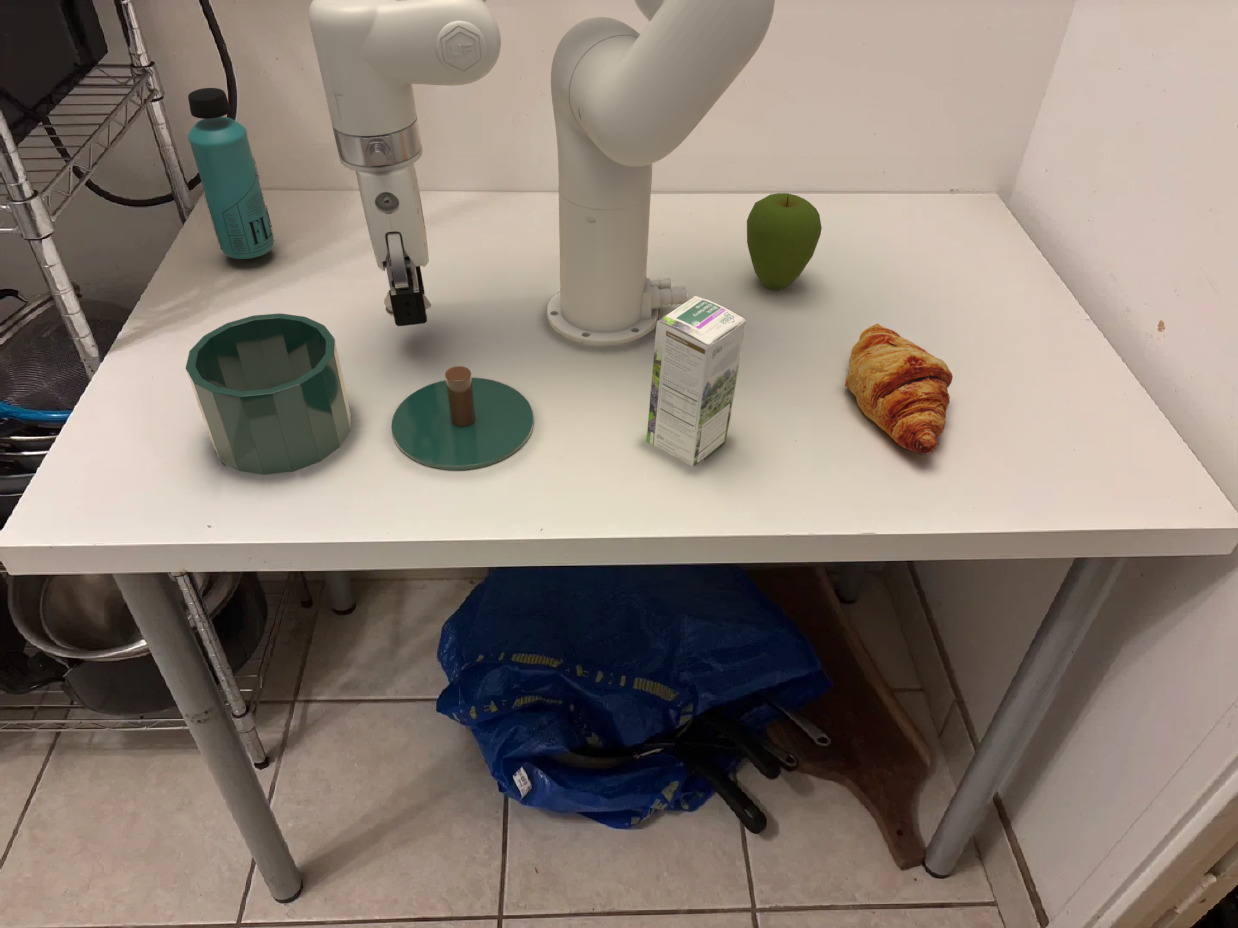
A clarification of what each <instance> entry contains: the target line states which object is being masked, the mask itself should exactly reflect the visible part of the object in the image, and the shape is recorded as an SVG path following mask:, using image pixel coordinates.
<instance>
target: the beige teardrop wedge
mask: <svg viewBox="0 0 1238 928" xmlns="http://www.w3.org/2000/svg"><path fill="white" fill-rule="evenodd" d="M423 298H424V304H425V310H426V311H427V310H429V309H430V308H431V307H432V303H431V302H430V300H429V299H428V298H427V296H426V295H425V294H423ZM383 304H384V306H385V311H386V313H387V314H388V315H389V316H391V317H394V315H393V310H392V305H391V300H390V295H389V291H388V292H387V294H386V296H385V298H384V299H383Z"/></svg>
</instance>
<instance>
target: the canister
mask: <svg viewBox="0 0 1238 928" xmlns="http://www.w3.org/2000/svg"><path fill="white" fill-rule="evenodd" d="M341 366H342V365H341V361H340V357H339V352H338V348H337V343H336V339H335V337H334V336H333V335H332V333H331V332H330V331H329V329H328V328H327V327H326V325H324V324H322V323H320V322H318V321H315V320H314V319H311V318H309V317H307V316H304V315H303V316H302V315H295V314H287V313H282V312H281V313H268V314H256V315H250V316H247V317H243V318H240V319H236V320H233V321H229V322H227V323H224V324H222V325H221V326H219V327H217V328H215V329H213V330H212V331H210V332H208V333H206V334H204V335H203V336H202V337H201V338H200V339H199V340H198V341H197V342H196V343H195V345H193V346H192V348H190V350H189V352H188V355H187V360H186V363H185V370H186V373H187V377H188V379H189V382H190V385H191V388H192V391H193V392H194V397H195V400H196V402H197V405H198V408H199V412H200V413H201V417H202V419H203V422H204V425H205V428H206V432H207V434H208V436H209V439H210V442H211V445H212V447H213V449H214V451H215V453H216V456H217V458H218V459H219V461H220V462H221V463H222V464H223V465H224V466H225V467H226V466H227V465H228V466H230V467H232V468H233V469H235V470H237V471H240V472H244V473H250V474H251V473H252V474H257V475H263V476H265V475H274V474H284V473H293V472H296V471H298V470H301V469H304V468H307V467H309V466H313V465H315V464H318V463H319V462H321V461H323V460H324V459H326V458H327V457H329V456H330V455H331V454H333V453H334V452H335V451H336V450H338V449H340V448H341V446H342V445H343V443H344V441H345V440H346V439H347V437H348V435H349V434H350V432H351V429H352V427H351V424H352V423H351V421H352V420H351V419H352V413H351V409H350V404H349V400H348V395H347V391H346V386H345V381H344V375H343V372H342V371H343V370H342V367H341Z"/></svg>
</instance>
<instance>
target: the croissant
mask: <svg viewBox="0 0 1238 928" xmlns="http://www.w3.org/2000/svg"><path fill="white" fill-rule="evenodd" d="M858 339H859V340H858V341H857V342H856V343H855V344H854V345H853V346H852V349H851V352H850V356H849V361H848V367H849V370H848V374H847V376H846V377H845V378H846V379H845V382H844V386H845V387H846V388H847V389H848V390H849V391H850V392H851V394H853V396H854V397H856V403H857V406H858V408H859V409H860V411H862V413H863V415H864V416H866V417H867V418H868V419H869V420H871V421H872V422H873V423H875V424H876V425H877V426H878V427H879V428H880V429H881V430H883V431H884V432H885V433H886V434H887V435H888V436H889V437H890V438H891V439H892V440H893V441H894V442H895V443H896V444H897V445H898V446H900V447H902V448H904V449H906V450H909V451H912V452H914V453H918V454H919V455H927V454H931V453H933V452H934V451H936V448H937V446H938V445H939V444H940V443H939V441H938V438H939V437H940V436H941V435H942V434H943V433H944V430H945V427H946V423H947V421H946V417H947V415H946V413H947V411H948V408H949V404H950V399H951V396H950V394H949V388H950V386H951V384H952V383H953V372H952V371H951V370H950V369H949V367H948V364H947V363H946V362H945V361H944V360H942V359H941V358H939V357H937V356H935V355H933V354H931V353H929V352H928V351H927V350H926V349H924V348H922V347H921V346H919V345H917V344H915V343H914V342H912V341H910V340H908V339H906V338H905V337H902V336H901V334H899V333H897V332H896V331H895V330H893V329H890V328H887V327H883V326H882V325H880V324H879V323H875V324H873V325H871V326H869V327H868V328H866V329H864V330H863V331H862V332H861V333H860V335H859V338H858Z"/></svg>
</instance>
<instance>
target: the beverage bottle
mask: <svg viewBox="0 0 1238 928" xmlns="http://www.w3.org/2000/svg"><path fill="white" fill-rule="evenodd" d="M187 100H188V103H189V111H190V114H191V116H192V117H193V118H196V119H200V120H199V121H197V122H196V123H195V124H194V125H193V127H192V128H191V129H190V130H189V132H188V134H187V139H188V142H189V144H190V148H191V151H192V154H193V158H194V161H195V164H196V168H197V171H198V175H199V178H200V182H201V185H202V188H203V191H202V192H203V193H204V200H205V202H206V205H207V211H208V214H209V216H210V221H211V224H212V225H213V226H212V228H213V230H214V231H213V232H214V234H215V235H216V238H217V243H218V245H219V249H220V250H221V251H222V253H223V254H224V256H227V257H228V258H231V259H237V260H246V259H247V260H249V259H253V258H258V257H261V256H264V255H266V254H267V253H269V252H270V251H271V250H272V249H273V247H274V242H275V240H276V239H275V238H276V237H275V235H274V232H273V231H274V229H273V225H272V222H271V218H270V214H269V211H268V206H267V205H266V201H265V198H264V194H263V191H262V188H261V183H260V175H259V172H258V167H257V163H256V161H255V157H254V154H253V152H252V149H251V144H250V141H249V137H248V131H247V128H246V127H245V126H244V125H243V124H241V123H240V122H238V121H237V120H235V119H233V118H232V117H226V116H227V115H229V113H231V111H232V107H231V105H230V102H229V100H228V96H227V93H226V92H225V90H223V89H222V88H216V87H203V88H199V89H195V90H192V91H191V92H190V93H189V94H188V95H187Z"/></svg>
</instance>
